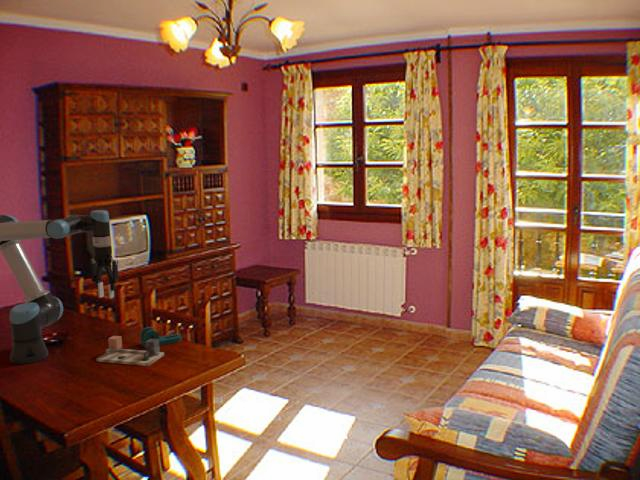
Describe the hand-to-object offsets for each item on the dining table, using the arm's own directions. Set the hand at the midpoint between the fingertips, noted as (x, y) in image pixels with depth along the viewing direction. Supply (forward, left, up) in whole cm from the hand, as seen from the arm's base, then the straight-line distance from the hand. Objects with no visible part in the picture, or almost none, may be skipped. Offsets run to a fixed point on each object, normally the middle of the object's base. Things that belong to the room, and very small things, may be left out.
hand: (106, 297), depth 266 cm
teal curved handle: (+18, +14, -25) cm, 34 cm away
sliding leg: (+5, -6, -23) cm, 24 cm away
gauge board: (+15, -7, -25) cm, 29 cm away
